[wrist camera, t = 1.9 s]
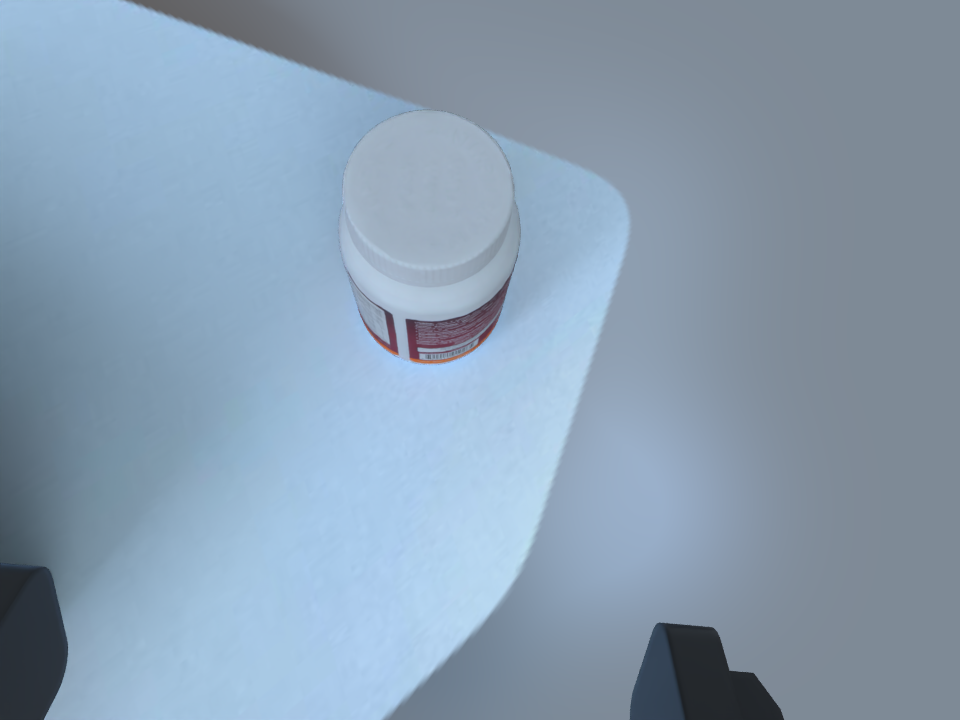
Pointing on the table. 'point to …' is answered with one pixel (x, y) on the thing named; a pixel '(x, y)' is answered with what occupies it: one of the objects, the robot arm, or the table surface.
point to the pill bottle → (429, 234)
